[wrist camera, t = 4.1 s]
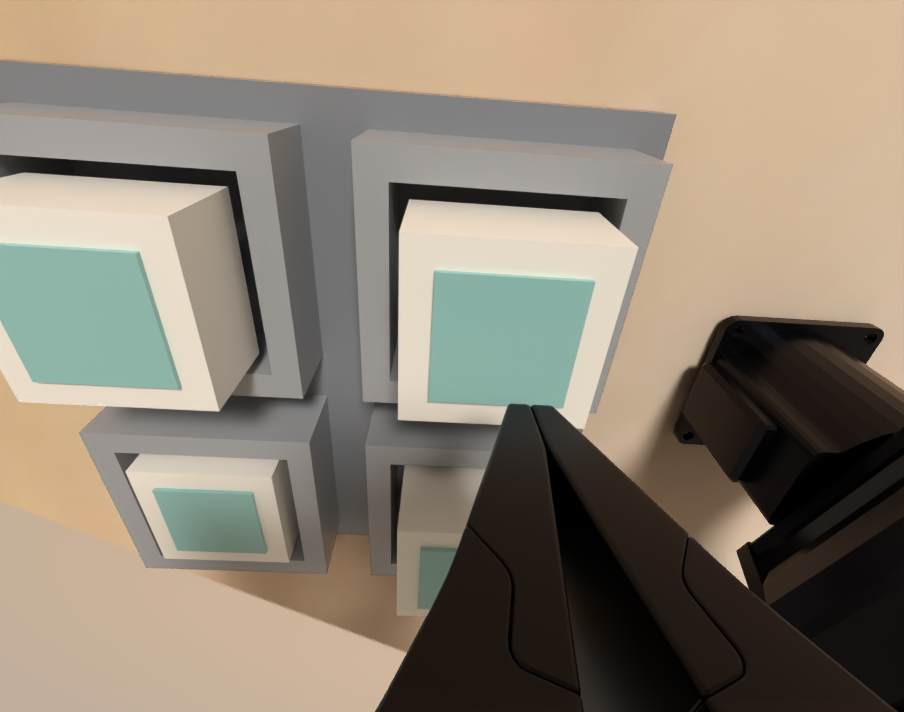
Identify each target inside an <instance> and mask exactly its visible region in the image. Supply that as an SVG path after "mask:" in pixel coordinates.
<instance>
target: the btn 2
mask: <svg viewBox="0 0 904 712" xmlns="http://www.w3.org/2000/svg"><path fill="white" fill-rule="evenodd" d="M125 472H126V474H127V476H128V478H129V481H130V483H131V485H132V487H133V490H134V492H135V494H136V496H137V498H138V501H139V503H140V505H141V507H142V509H143V512H144V514H145V516H146V518H147V521H148V523H149V525H150V527H151V529H152V532H153V534H154V536H155V538H156V540H157V543H158V545H159V547H160V549H161V552H162V554H163V556H164V558H165V559H195V560H225V561H256V562H286V563H289V561H290V558H291V555H292V552H293V549H294V546H295V543H296V540H297V537H298V534H299V525H298V520H297V514H296V508H295V503H294V497H293V491H292V486H291V480H290V474H289V469H288V463H287V460H276V459H253V458H230V457H207V456H183V455H160V454H139V456H138V457H137V458H136V459H135V460H134V462H133V463H132V464H131V465H130V466H129V468H128V469H127V470H126V471H125Z"/></svg>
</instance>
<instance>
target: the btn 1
mask: <svg viewBox="0 0 904 712" xmlns="http://www.w3.org/2000/svg"><path fill="white" fill-rule="evenodd" d="M258 355H259V348H258V343H257V338H256V332H255V327H254V322H253V316H252V311H251V306H250V301H249V295H248V290H247V285H246V279H245V274H244V269H243V264H242V258H241V253H240V248H239V242H238V237H237V232H236V226H235V221H234V216H233V211H232V205H231V200H230V195H229V189H228V187H226V186H212V185H197V184H183V183H169V182H154V181H140V180H125V179H111V178H97V177H82V176H68V175H54V174H39V173H25V172H24V173H19V174H15V175H10V176H6V177H1V178H0V370H1V371H2V373H3V375H4V377H5V378H6V380H7V382H8V384H9V386H10V387H11V389H12V391H13V393H14V394H15V396H16V398H17V400H18V401H19V402H29V403H50V404H71V405H92V406H113V407H134V408H155V409H176V410H197V411H218V412H219V411H220V410H221V409H222V407H223V406H224V404H225V403H226V401H227V400H228V398H229V397H230V395H231V394H232V392H233V391H234V390H235V388H236V387H237V385H238V384H239V382H240V381H241V379H242V378H243V376H244V375H245V374H246V372H247V371H248V369H249V368H250V366H251V365H252V363H253V362H254V360H255V359H256V357H257V356H258Z"/></svg>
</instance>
